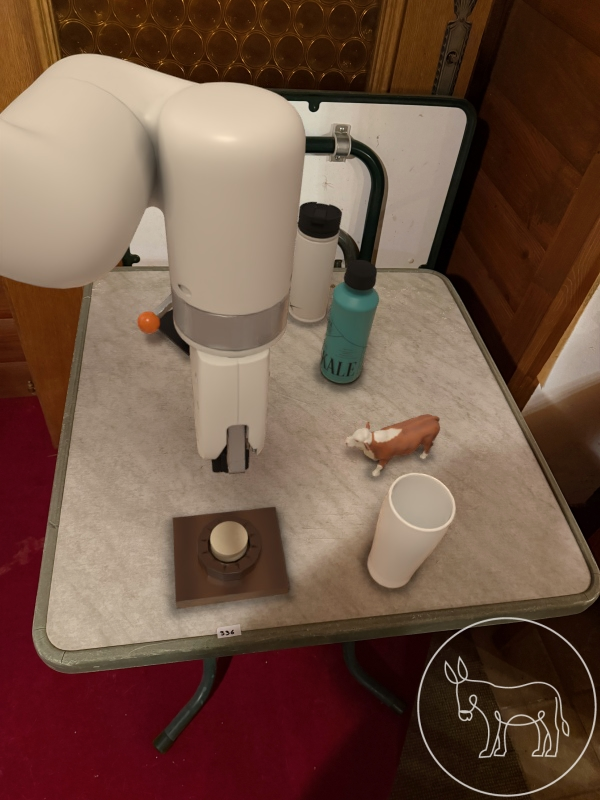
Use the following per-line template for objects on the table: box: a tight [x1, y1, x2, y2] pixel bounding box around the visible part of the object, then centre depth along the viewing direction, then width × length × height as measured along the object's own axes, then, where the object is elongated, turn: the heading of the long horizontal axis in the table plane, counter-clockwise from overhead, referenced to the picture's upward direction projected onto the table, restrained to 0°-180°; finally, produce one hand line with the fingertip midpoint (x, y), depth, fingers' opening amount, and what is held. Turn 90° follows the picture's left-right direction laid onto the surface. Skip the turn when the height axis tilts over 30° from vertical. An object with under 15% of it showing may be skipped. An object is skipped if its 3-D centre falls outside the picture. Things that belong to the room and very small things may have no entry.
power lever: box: [136, 294, 173, 335], centre depth 82 cm, size 13×3×3 cm, turn 134°
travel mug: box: [288, 201, 343, 325], centre depth 87 cm, size 6×7×20 cm
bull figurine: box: [344, 413, 441, 477], centre depth 73 cm, size 4×13×8 cm, turn 111°
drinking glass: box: [366, 472, 457, 589], centre depth 60 cm, size 7×7×15 cm
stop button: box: [210, 521, 248, 562], centre depth 61 cm, size 4×4×2 cm
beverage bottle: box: [319, 259, 380, 384], centre depth 78 cm, size 6×7×20 cm
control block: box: [172, 506, 290, 610], centre depth 63 cm, size 12×10×4 cm
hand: (229, 463), depth 50 cm, fingers closed
